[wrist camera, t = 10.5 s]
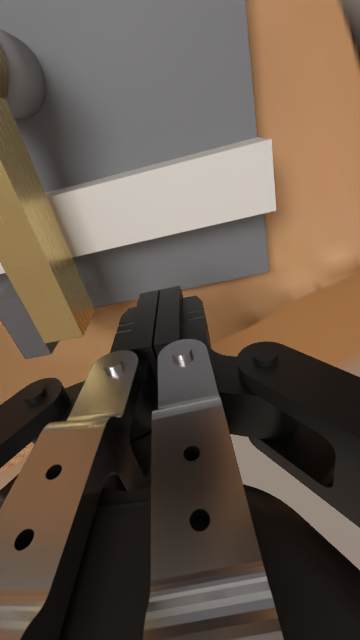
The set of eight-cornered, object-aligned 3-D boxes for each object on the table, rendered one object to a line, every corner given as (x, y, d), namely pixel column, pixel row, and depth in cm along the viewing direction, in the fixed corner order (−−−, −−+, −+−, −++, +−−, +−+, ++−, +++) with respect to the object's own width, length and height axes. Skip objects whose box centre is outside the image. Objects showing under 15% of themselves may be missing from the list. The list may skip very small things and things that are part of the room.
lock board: (24, 310, 24) (-36, 378, 17) (-201, -81, 13) (-557, -274, 7) (262, 260, 21) (295, 317, 15) (210, -265, 11) (246, -821, 5)
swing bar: (-103, 21, 11) (-184, -10, 8) (-21, -7, 10) (-83, -48, 8) (51, 319, 17) (30, 350, 15) (105, 309, 17) (92, 339, 14)
